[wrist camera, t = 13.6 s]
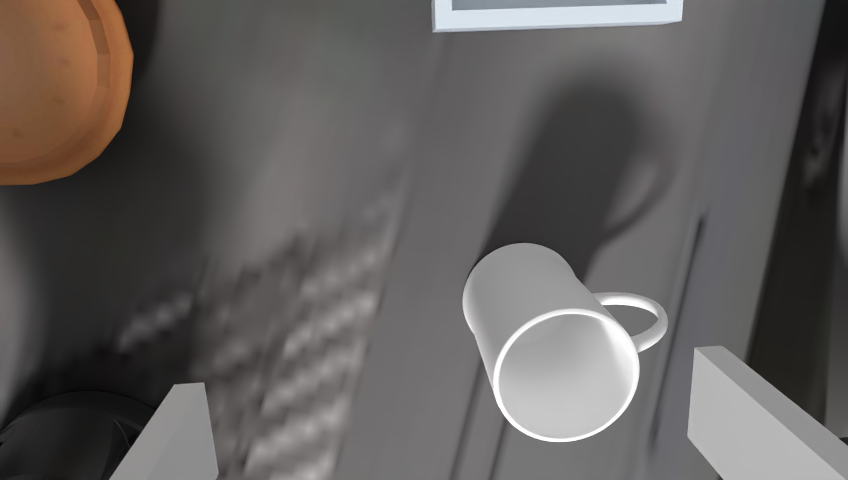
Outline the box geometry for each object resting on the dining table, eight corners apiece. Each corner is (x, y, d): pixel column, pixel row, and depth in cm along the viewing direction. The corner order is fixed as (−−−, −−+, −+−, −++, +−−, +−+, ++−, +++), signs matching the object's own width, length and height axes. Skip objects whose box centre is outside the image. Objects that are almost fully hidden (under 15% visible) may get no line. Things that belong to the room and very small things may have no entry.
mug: (618, 227, 43) (703, 283, 31) (623, 336, 45) (704, 425, 34) (455, 251, 43) (480, 317, 31) (469, 359, 45) (497, 457, 33)
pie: (204, 43, 38) (178, 39, 33) (67, 222, 41) (24, 242, 36) (-15, -142, 35) (-80, -177, 30) (-150, 65, 37) (-230, 64, 32)
